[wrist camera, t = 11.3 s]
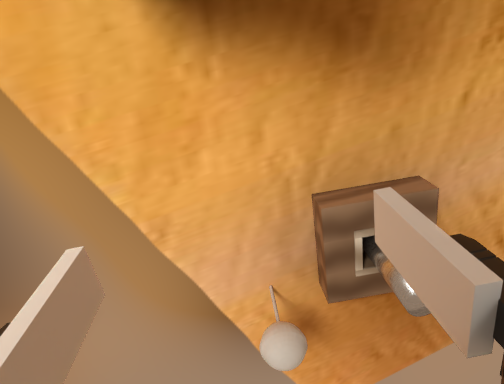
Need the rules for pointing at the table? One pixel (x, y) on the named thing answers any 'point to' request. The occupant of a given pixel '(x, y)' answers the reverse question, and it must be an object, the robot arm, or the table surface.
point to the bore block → (358, 235)
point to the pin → (394, 278)
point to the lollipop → (283, 343)
